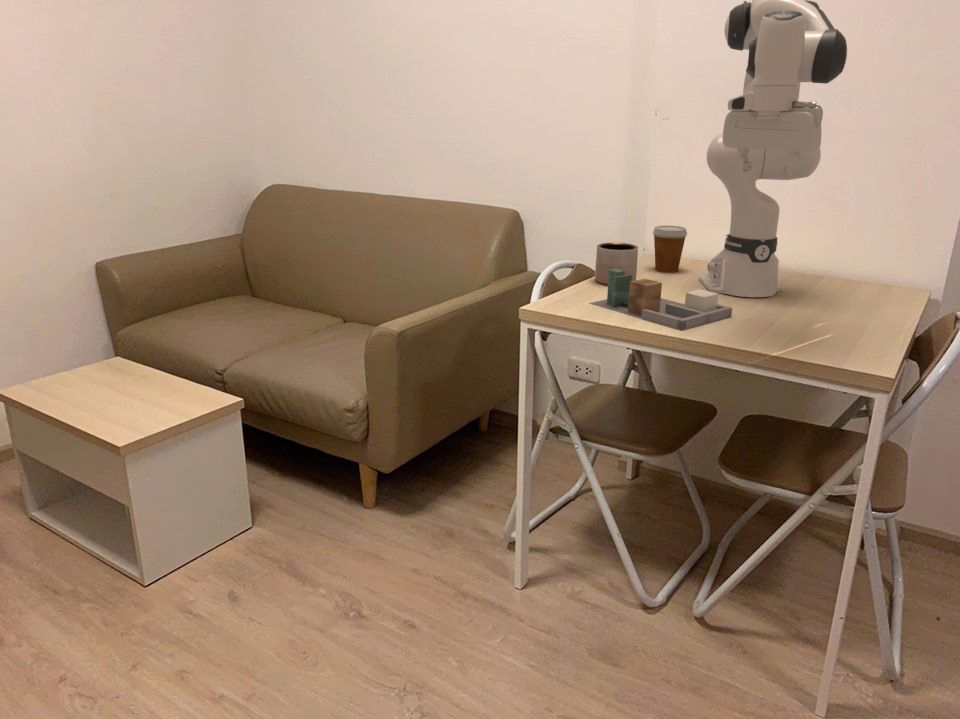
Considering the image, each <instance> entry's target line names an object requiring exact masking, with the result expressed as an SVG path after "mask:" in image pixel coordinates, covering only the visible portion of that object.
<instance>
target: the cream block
mask: <svg viewBox="0 0 960 719" xmlns="http://www.w3.org/2000/svg"><path fill="white" fill-rule="evenodd" d="M684 298H685V299H684V304H685V307H686V308H690V309H694V310H698V311H701V312H709V311H713V310H717V304H718V303H719V302H718V300H719V293H714V292H710V291H709V290H704V289H696V290H692V291H688V292H685V297H684Z"/></svg>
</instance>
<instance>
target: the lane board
mask: <svg viewBox="0 0 960 719" xmlns="http://www.w3.org/2000/svg"><path fill="white" fill-rule="evenodd" d="M588 304H590V305H593V306H595V307H596V306H597V307H600V308H603V309H606V310H610V311H614V312H616V313H617V312H618V313H619V314H620V313H621V314H624V315H627V316H631V317H634V318H638V319H641V320H644V321H648V322H651V323H654V324H659V325H661V326H665V327H669V328H672V329H676V330H678V331H684V330H688V329H692V328H695V327H699V326H703V325H707V324H709V323H714V322H717V321H720V320H725V319H728V318H732V313H733V307H731V306H728V305H723V304H719V303H717V310H713V311H709V312H701V311H698V310H694V309H690V308H686V307H685V303H680V302H677V301H673V300H670V299H666V298H662V297H661V300H660V312H655V311H652V310H648V309H643V310H642V316H641V315H638V314H635V313H631V312H628V308H625V307H622V306H617V307H611V306H612V305H611V304H608V303H607V298H606V299H602V300H598V301H593V302H589V303H588Z"/></svg>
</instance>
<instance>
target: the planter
mask: <svg viewBox="0 0 960 719" xmlns="http://www.w3.org/2000/svg"><path fill="white" fill-rule="evenodd" d="M638 255H639V246H638V245H635V244H632V243H626V242H625V243H624V242H604V243H603V242H602V243H600V244H597V245H596V256H595V257H596V258H595V270H594V271H595V272H594V280H595V281H596V282H597V283H599V284H600V283H601V284H600V285H604V284H605V286H608V279H609V270H613V269H620V270H624V271H625V275H628V274H632V281H635V280H637V273H638V272H637V270H638V257H639V256H638Z"/></svg>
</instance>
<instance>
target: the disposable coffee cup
mask: <svg viewBox="0 0 960 719" xmlns="http://www.w3.org/2000/svg"><path fill="white" fill-rule="evenodd" d="M652 233H653V243H654V264H655V265H654V266H655V269H654V270H655V271H657V272H660V273H676V272H678V271H679V267H680V263H681V259H682V253H683V250H684V244H685V240H686V237H687V236H688V232H687V228H686V227H683V226H677V225H657V226H655V227H654V229H653V231H652Z"/></svg>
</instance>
